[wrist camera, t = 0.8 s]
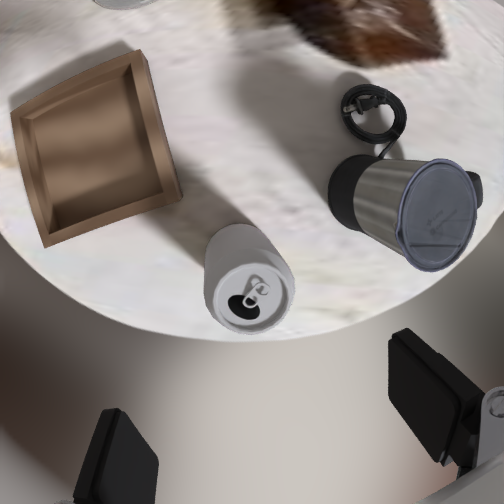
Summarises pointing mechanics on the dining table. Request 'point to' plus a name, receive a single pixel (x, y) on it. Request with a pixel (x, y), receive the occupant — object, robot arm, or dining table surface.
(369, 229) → the milk frother
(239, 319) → the can
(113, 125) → the tray
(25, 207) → the dining table surface
